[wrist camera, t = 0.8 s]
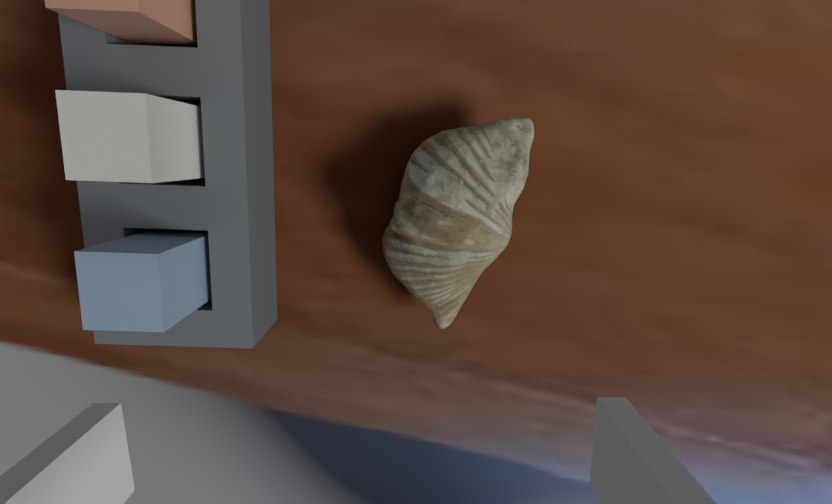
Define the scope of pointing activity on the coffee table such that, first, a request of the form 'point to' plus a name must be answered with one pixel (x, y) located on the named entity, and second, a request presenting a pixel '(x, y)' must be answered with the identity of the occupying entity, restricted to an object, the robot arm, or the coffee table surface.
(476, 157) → the seashell
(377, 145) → the coffee table surface
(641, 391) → the coffee table surface
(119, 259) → the blue key
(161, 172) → the white key
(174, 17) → the salmon brown block
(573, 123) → the coffee table surface
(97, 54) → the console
